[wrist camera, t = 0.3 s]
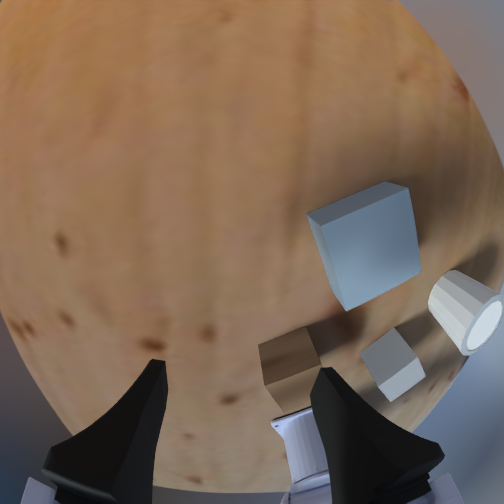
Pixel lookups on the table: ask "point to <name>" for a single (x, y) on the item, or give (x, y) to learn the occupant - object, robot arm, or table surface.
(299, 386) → the walnut cube
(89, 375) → the table surface
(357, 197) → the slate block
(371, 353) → the grey cube
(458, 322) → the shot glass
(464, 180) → the table surface
